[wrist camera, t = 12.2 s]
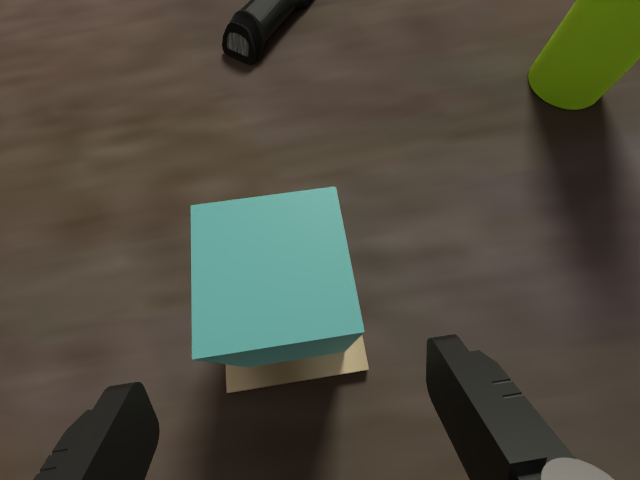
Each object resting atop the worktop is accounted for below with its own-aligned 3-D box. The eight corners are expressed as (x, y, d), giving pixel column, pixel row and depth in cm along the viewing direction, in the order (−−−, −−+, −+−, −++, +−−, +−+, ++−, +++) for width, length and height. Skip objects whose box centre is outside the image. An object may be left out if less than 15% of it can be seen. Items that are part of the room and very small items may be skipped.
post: (342, 243, 23) (353, 182, 16) (367, 369, 20) (394, 364, 13) (223, 260, 22) (178, 205, 15) (229, 392, 19) (177, 401, 12)
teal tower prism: (329, 260, 21) (335, 186, 13) (344, 352, 19) (364, 332, 11) (241, 273, 21) (190, 205, 13) (247, 367, 19) (192, 359, 11)
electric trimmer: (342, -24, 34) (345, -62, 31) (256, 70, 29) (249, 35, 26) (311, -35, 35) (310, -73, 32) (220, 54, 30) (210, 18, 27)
